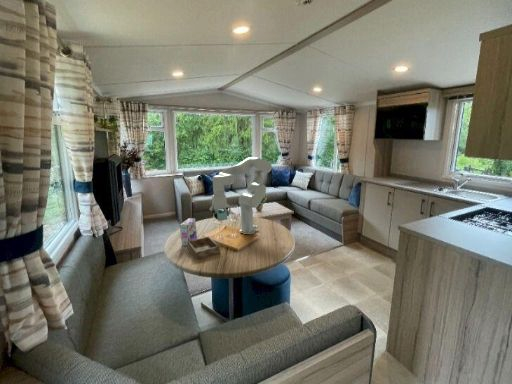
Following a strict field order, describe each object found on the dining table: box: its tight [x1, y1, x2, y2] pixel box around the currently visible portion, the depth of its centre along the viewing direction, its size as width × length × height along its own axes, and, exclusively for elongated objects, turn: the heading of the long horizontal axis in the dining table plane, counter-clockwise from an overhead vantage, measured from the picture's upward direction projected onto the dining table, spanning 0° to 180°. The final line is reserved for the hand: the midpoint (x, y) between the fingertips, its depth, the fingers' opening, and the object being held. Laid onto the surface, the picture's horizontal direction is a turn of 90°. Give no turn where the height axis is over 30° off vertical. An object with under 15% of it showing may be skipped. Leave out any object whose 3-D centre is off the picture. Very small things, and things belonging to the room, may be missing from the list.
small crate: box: [216, 209, 228, 222], centre depth 181 cm, size 6×10×5 cm, turn 31°
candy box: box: [179, 217, 198, 247], centre depth 186 cm, size 14×6×16 cm, turn 168°
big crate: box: [187, 235, 221, 260], centre depth 173 cm, size 16×20×5 cm
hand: (220, 217), depth 181 cm, fingers closed on small crate, 6 cm apart
